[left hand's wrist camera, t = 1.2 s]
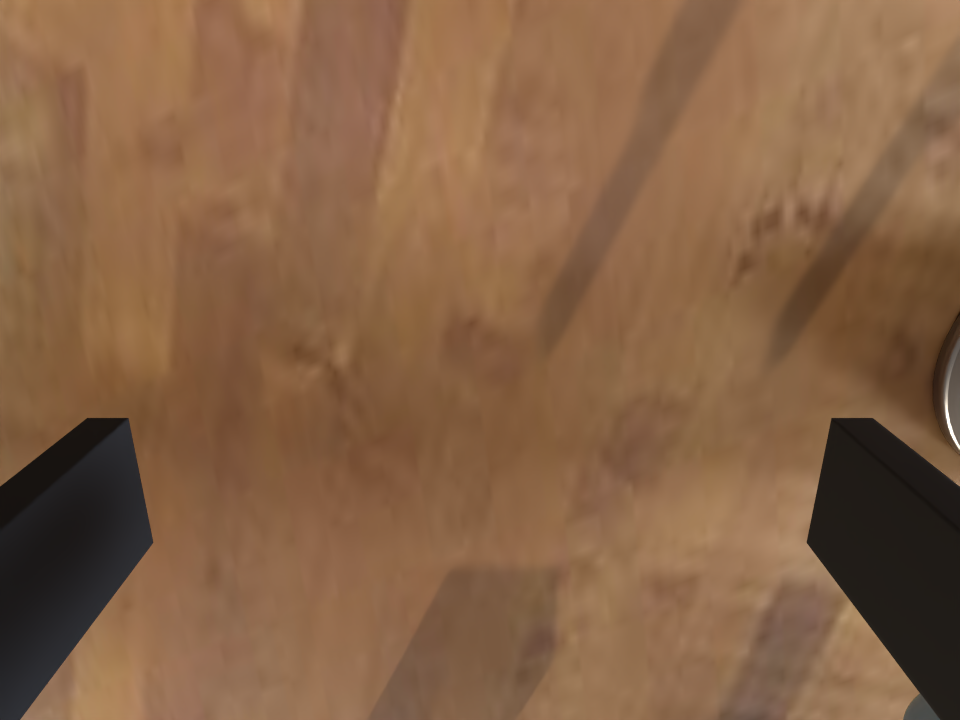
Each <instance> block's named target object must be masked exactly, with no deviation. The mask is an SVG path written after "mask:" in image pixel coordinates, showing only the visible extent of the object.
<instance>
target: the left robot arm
mask: <svg viewBox="0 0 960 720" xmlns="http://www.w3.org/2000/svg"><path fill="white" fill-rule="evenodd" d="M933 402H934V409H935V414H936V418H937V421H938V423H939V426H940V429H941V431H942V432H943V434H944V436H945V438H946V439H947V441H948V442H949V444H950V445H951V446H952V447H953V448H954V450H955V451H956V452H957V453H958V454H959V455H960V315H959V317H958V318H957V320H956V321H955V323H954V324H953V326H952V328H951V330H950V331H949V333H948V335H947V337H946V339H945V341H944V344H943V346H942V348H941V351H940V354H939V357H938V360H937V364H936V369H935V373H934V381H933ZM152 544H153V539H152V534H151V529H150V524H149V519H148V514H147V509H146V504H145V499H144V494H143V489H142V484H141V479H140V474H139V469H138V464H137V459H136V454H135V449H134V444H133V439H132V434H131V429H130V424H129V419H128V418H87V419H86V420H84V421H83V422H82V423H80V424H79V425H78V426H77V427H75V428H74V429H73V430H72V431H70V432H69V433H68V434H67V435H65V436H64V437H63V438H61V439H60V440H59V441H58V442H56V443H55V444H54V445H53V446H51V447H50V448H49V449H47V450H46V451H45V452H44V453H42V454H41V455H40V456H39V457H37V458H36V459H35V460H34V461H32V462H31V463H30V464H28V465H27V466H26V467H25V468H23V469H22V470H21V471H20V472H18V473H17V474H16V475H15V476H13V477H12V478H11V479H9V480H8V481H7V482H6V483H4V484H3V485H2V486H1V487H0V720H20V719H21V718H22V716H23V715H24V714H25V712H26V711H27V710H28V708H29V707H30V706H31V704H32V703H33V702H34V700H35V699H36V698H37V696H38V695H39V694H40V692H41V691H42V690H43V688H44V687H45V686H46V684H47V683H48V682H49V680H50V679H51V678H52V677H53V675H54V674H55V673H56V671H57V670H58V669H59V667H60V666H61V665H62V663H63V662H64V661H65V659H66V658H67V657H68V655H69V654H70V653H71V651H72V650H73V649H74V647H75V646H76V645H77V643H78V642H79V641H80V639H81V638H82V637H83V635H84V634H85V633H86V631H87V630H88V629H89V627H90V626H91V625H92V623H93V622H94V621H95V619H96V618H97V617H98V615H99V614H100V613H101V611H102V610H103V609H104V607H105V606H106V605H107V603H108V602H109V601H110V599H111V598H112V597H113V595H114V594H115V593H116V591H117V590H118V589H119V588H120V586H121V585H122V584H123V582H124V581H125V580H126V578H127V577H128V576H129V574H130V573H131V572H132V570H133V569H134V568H135V566H136V565H137V564H138V562H139V561H140V560H141V558H142V557H143V556H144V554H145V553H146V552H147V550H148V549H149V548H150V546H151V545H152ZM807 544H808V545H809V546H810V548H811V549H812V550H813V552H814V553H815V554H816V556H817V557H818V558H819V560H820V561H821V562H822V564H823V565H824V566H825V568H826V569H827V570H828V572H829V573H830V574H831V576H832V577H833V578H834V580H835V581H836V582H837V584H838V585H839V586H840V588H841V589H842V590H843V592H844V593H845V594H846V595H847V597H848V598H849V599H850V601H851V602H852V603H853V605H854V606H855V607H856V609H857V610H858V611H859V613H860V614H861V615H862V617H863V618H864V619H865V621H866V622H867V623H868V625H869V626H870V627H871V629H872V630H873V631H874V633H875V634H876V635H877V637H878V638H879V639H880V641H881V642H882V643H883V645H884V646H885V647H886V649H887V650H888V651H889V653H890V654H891V655H892V657H893V658H894V659H895V661H896V662H897V663H898V665H899V666H900V667H901V669H902V670H903V671H904V673H905V674H906V675H907V677H908V678H909V679H910V680H911V682H912V683H913V684H914V686H915V687H916V688H917V690H918V691H919V692H920V694H919V695H918V696H917V697H916V698H915V699H914V700H913V701H912V702H911V703H910V705H909V706H908V708H907V710H906V712H905V715H904V718H903V720H960V487H959V486H958V485H957V484H956V483H954V482H953V481H952V480H951V479H949V478H948V477H947V476H945V475H944V474H943V473H942V472H940V471H939V470H938V469H937V468H935V467H934V466H933V465H932V464H930V463H929V462H928V461H926V460H925V459H924V458H923V457H921V456H920V455H919V454H918V453H916V452H915V451H914V450H913V449H911V448H910V447H909V446H907V445H906V444H905V443H904V442H902V441H901V440H900V439H899V438H897V437H896V436H895V435H893V434H892V433H891V432H890V431H888V430H887V429H886V428H885V427H883V426H882V425H881V424H880V423H878V422H877V421H876V420H874V419H873V418H832V419H831V424H830V429H829V434H828V439H827V444H826V449H825V454H824V459H823V464H822V469H821V474H820V479H819V484H818V489H817V494H816V499H815V504H814V509H813V514H812V519H811V524H810V529H809V534H808V539H807Z"/></svg>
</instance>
